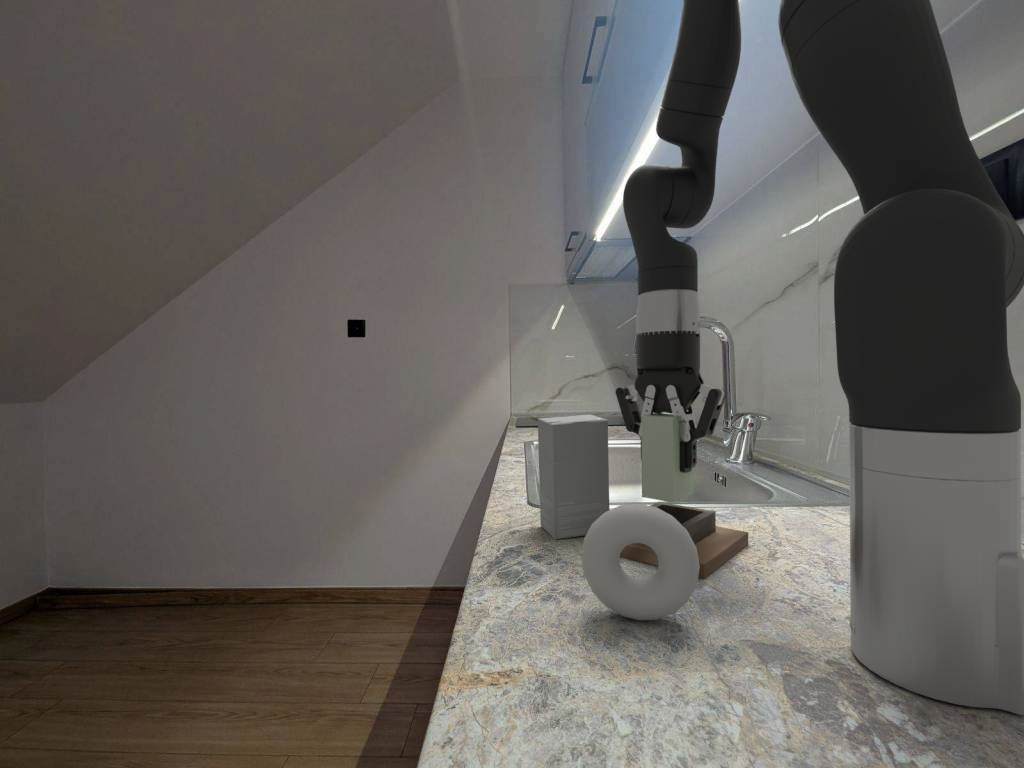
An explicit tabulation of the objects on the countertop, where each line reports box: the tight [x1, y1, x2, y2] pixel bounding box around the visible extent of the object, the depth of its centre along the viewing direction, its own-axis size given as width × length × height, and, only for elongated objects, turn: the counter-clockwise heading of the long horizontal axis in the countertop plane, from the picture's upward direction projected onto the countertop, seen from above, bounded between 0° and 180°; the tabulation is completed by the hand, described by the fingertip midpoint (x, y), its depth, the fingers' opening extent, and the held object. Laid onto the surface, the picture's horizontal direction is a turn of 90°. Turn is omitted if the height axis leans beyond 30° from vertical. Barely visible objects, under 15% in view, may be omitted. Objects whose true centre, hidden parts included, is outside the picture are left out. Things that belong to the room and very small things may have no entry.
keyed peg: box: [640, 412, 695, 503], centre depth 61 cm, size 6×4×10 cm, turn 137°
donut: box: [581, 503, 700, 621], centre depth 43 cm, size 10×4×10 cm, turn 74°
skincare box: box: [537, 414, 610, 540], centre depth 67 cm, size 8×7×16 cm
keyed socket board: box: [620, 501, 749, 579], centre depth 61 cm, size 14×14×4 cm
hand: (668, 468), depth 61 cm, fingers closed on keyed peg, 4 cm apart
